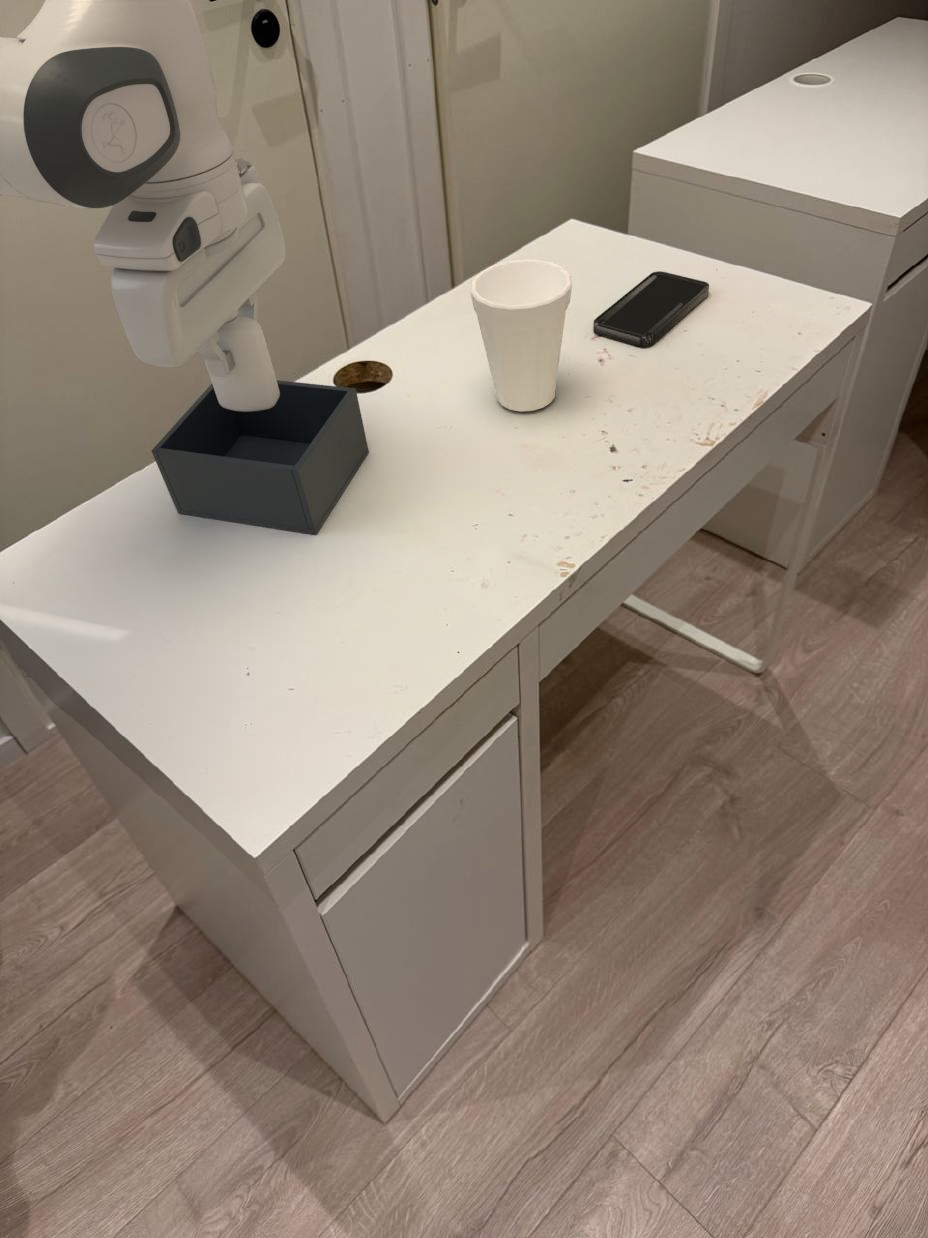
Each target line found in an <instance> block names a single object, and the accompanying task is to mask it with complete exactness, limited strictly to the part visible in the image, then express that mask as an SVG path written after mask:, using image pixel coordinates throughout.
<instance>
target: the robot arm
mask: <svg viewBox="0 0 928 1238" xmlns="http://www.w3.org/2000/svg"><path fill="white" fill-rule="evenodd" d="M210 61H211V60H210V57H209V54H208V51H207V47H206V44H205V41H204V37H203V34H202V31H201V27H200V24H199V22H198V18H197V15H196V12H195V10H194V6H193V5H192V2H191V0H44V2H43V4H42V6H41V7H40V9H39V10H38V12H37V14H36V15H35V17H34V18H33V19H32V21H31V22H30V23H29V24H28V25H27V27H25V29H23V31H21V32H20V33H18V34H17V35H16V37H5V36H0V196H5V197H11V198H15V199H22V200H28V201H33V202H38V203H44V204H52V205H56V206H57V205H58V206H61V207H68V208H75V209H82V210H83V209H84V210H85V209H104V208H108V207H110V209H109V212H108V214H107V216H106V217H105V219H104V221H103V223H102V225H101V226H100V227H99V230H98V231H97V233H96V235H95V237H94V240H93V248H94V252H95V255H96V258H97V260H98V261H99V263H100V264H101V265H102V266H103V267H107V268H113V269H112V273H111V278H110V288H111V294H112V298H113V302H114V305H115V309H116V311H117V314H118V317H119V319H120V322H121V324H122V327H123V330H124V332H125V335H126V337H127V340H128V343H129V344H130V346H131V349H132V351H133V353H134V354H135V356H136V357H137V359H139V360H140V361H142V362H143V363H144V364H146V365H148V366H150V367H151V366H152V367H159V368H167V369H168V368H169V369H181V368H183V367H184V366H185V365H186V364H187V363H188V362H189V361H190V360H191V358H193V356H194V355H196V353H197V354H198V355H199V356H201V358H203V359H204V358H205V360H204V362H205V361H206V363H205V365H206V364H207V366H208V369H209V372H210V373H211V375H213V376H217V377H226V376H227V375H228V374H229V373H230V372H231V371H232V369H233V368H234V366H235V364H234V362H233V361H232V355H231V351H226V350H223V351H222V350H221V349H220V347H219V346H218V345H217V344H216V342H218V341H219V336H218V333H217V330H218V329H219V328H220V327H221V326H222V325H223V324H224V323H225V322H226V321H227V320H228V319H229V318H230V317H231V316H232V315H233V314H234V313H235V312H236V311H238V314H240V315H243V316H246V317H249V318H251V319H253V320H255V321H256V322H257V323H258V310H259V308H258V307H259V297H258V293H257V290H258V289H259V288H260V287H261V286H262V285H263V284H264V283H265V282H266V281H267V280H268V279H269V278H270V277H271V276H272V275H273V274H274V273H275V271H277V269H279V267H280V266H282V264H283V263H284V262H285V261H286V260H285V259H286V252H287V251H286V249H287V246H286V240H285V236H284V233H283V230H282V226H281V223H280V220H279V217H278V214H277V211H276V208H275V206H274V203H273V200H272V197H271V194H270V193H269V191H268V189H267V188H266V187H265V185H263V184H262V183H261V180H260V177H259V172H258V170H257V168H256V166H254V165H252V164H251V162H249V161H247V160H245V159H244V158H242V157H239V158H236V156H235V153H234V149H233V145H232V143H231V140H230V139H229V136H228V134H227V132H226V131H225V129H224V128H223V125H222V123H221V120H220V116H219V113H218V107H217V85H216V80H215V77H214V73H213V69H212V66H211V62H210ZM207 366H206V367H207ZM208 369H207V370H208ZM209 372H208V373H209Z"/></svg>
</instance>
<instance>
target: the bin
mask: <svg viewBox="0 0 928 1238" xmlns="http://www.w3.org/2000/svg"><path fill="white" fill-rule="evenodd" d="M276 380H277V384H278V388H279V391H280V396H279V398H278V400H277V402H276V404H275V405H274V406H273V407H272V408H270V409H266V410H260V411H251V412H242V411H234V410H229V409H226V408H223V407H222V406H221V405H220V404H219V402H218V399H217V396H216V393H215V390H214V387H213V384H212V383H210V385H209V386H208V387H207V388H206V389H205V390H204V391H203V393H202V394H201V395H200V396H199V397H198V398H197V399H196V400H195V402H194V403H193V404H192V405H191V406H190V407H189V408H188V409H187V410H186V411H185V413H183V415H182V416H181V417H180V418H179V419H178V420H177V421H176V423H175V424H174V425H173V426H172V427H171V428H170V429H169V430H168V431H167V432H166V433H165V435H164V436H162V438H161V439H160V441H158V443H157V444H156V445H155V446H154V447H153V448H152V449H151V454H152V456H153V459H154V460H155V463H156V465H157V468H158V470H159V473H160V475H161V477H162V479H163V482H164V484H165V486H166V489H167V492H168V494H169V496H170V499H171V501H172V502H173V506H174V508H175V510H176V512H177V514H180V515H185V516H191V517H197V518H203V519H212V520H215V521H216V520H217V521H222V522H223V521H224V522H230V523H236V524H242V525H243V524H244V525H249V526H255V527H262V528H267V529H268V528H269V529H275V530H280V531H281V530H282V531H288V532H293V533H300V534H306V535H311V536H312V535H313V536H317V534H318V533H319V531H320V529H321V528H322V527H323V525H324V523H325V522H326V520H327V519H328V518H329V516H330V514H331V512H332V511H333V510H334V508H335V506H336V504H337V503H338V501H339V500H340V498H341V497H342V495H344V494H343V493H344V492H345V491H346V489H347V487H348V485H349V484H350V483H351V481H352V480H353V478H354V477H355V475H356V473H357V472H358V470H359V468H360V467H361V465H362V464H363V462H364V461H365V459H366V458H367V456H368V454H369V453H370V450H369V445H368V440H367V436H366V432H365V427H364V422H363V421H364V420H363V417H362V413H361V407H360V403H359V397H358V393H357V389H356V387H347V386H337V385H336V386H335V385H326V384H317V383H308V382H297V381H288V380H279V379H276Z"/></svg>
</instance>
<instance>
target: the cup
mask: <svg viewBox="0 0 928 1238" xmlns="http://www.w3.org/2000/svg"><path fill="white" fill-rule="evenodd" d="M572 282H573V281H572V275H571V274H570V273H569V272H568V271H567V270H566V269H565V268H563V266H561V265H559V264H556V263H553V262H550V261H547V260H539V259H531V258H530V259H529V258H528V259H515V260H509V261H505V262H501V263H497V264H493V265H492V266H489V267H488V268H486V269H484V270H482V271H480V272H479V273H478V274H477V276H475V278H474V279H473V280H472V281H471V282H470V290H469V291H470V297H471V298H470V299H471V302H472V307H473V310H474V312H475V314H476V318H477V322H478V326H479V331H480V334H481V339H482V342H483V347H484V350H485V355H486V359H487V362H488V366H489V371H490V375H491V379H492V383H493V387H494V391H495V395H496V400H497V402H498V403H499V404H500V405H501V406H502V407H504V408H506V409H508V410H509V411H515V412H534V411H537V410H540V409H543V408H545V407H546V406H548V405H549V404H551V403H552V402H553V401H554V399H555V398H556V389H557V381H558V372H559V366H560V358H561V351H562V344H563V343H562V342H563V335H564V328H565V320H566V312H567V310H568V308H569V305H570V304H571V297H572V288H573V283H572Z"/></svg>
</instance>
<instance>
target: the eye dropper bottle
mask: <svg viewBox="0 0 928 1238" xmlns="http://www.w3.org/2000/svg"><path fill="white" fill-rule="evenodd" d="M217 333H218V336H219V341H218V342H216V344H217V345H218V346H219V347H220V349H221V350H222V351H223V350H226V351H231V355H232V361H233V362H234V364H235V366H234V368H233V369H232V371H231V372H230V373H229V374H228V375H227V376H226V377H217V376H213V375H211V373H210V372H209V369H208V366H207V364H206V361H205V358H203V360H204V363H205V366H206V369H207V372H208V375H209V378H210V381H211V384H213V387H214V390H215V393H216V396H217V399H218V402H219V404H220V405H221V406H222V407H223V408H226V409H229V410H234V411H242V412H251V411H260V410H266V409H270V408H272V407H273V406H274V405H275V404H276V402H277V400H278V398H279V396H280V391H279V388H278V384H277V380H278V379H277V378H276V374H275V369H274V366H273V363H272V359H271V356H270V353H269V348H268V345H267V341H266V339H265V335H264V332H263V329H262V326H261V324H260V323H259V322H258V321H257V322H256V321H255V320H253V319H251V318H249V317H246V316H243V315H240V314H238V311H236V312H235V313H234V314H233V315H232V316H231V317H230V318H229V319H228V320H227V321H226V322H225V323H224V324H223V325H222V326H221V327H220V328H219V329H218V330H217Z"/></svg>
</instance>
